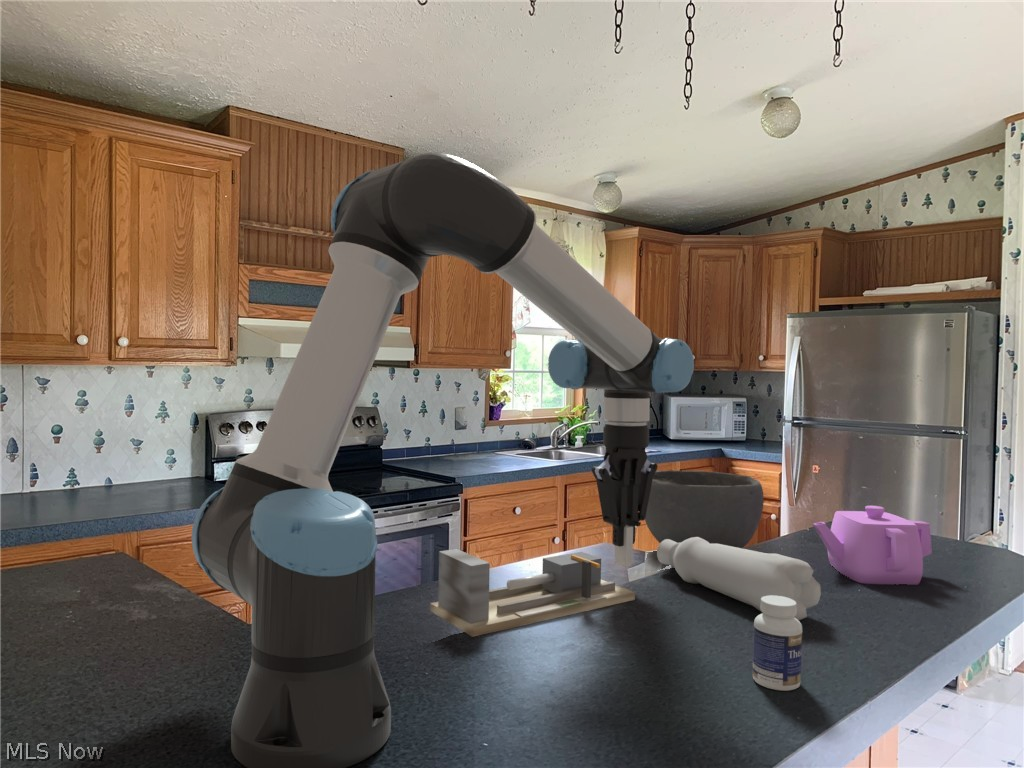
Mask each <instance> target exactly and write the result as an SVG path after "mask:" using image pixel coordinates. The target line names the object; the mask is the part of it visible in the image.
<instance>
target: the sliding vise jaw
mask: <svg viewBox="0 0 1024 768" xmlns="http://www.w3.org/2000/svg"><path fill="white" fill-rule="evenodd" d="M585 560H587V561H590V562H591V586H592V585H597V584H601V580H602V558H601V557H598V556H595V555H592V554H590V553H587V552H585V551H579V552H574V553H573V552H572V553H566V554H561V555H555V556H554V555H553V556H548V557H543V558H542V572H541V573H540V574H536V575H530V576H524V577H520V578H514V579H507V581H506V587H507V588H508V589H509V590H512V589H518V588H523V587H528V586H533V585H538V584H542V589H545V590H547V591H549V592H552V593H558V592H563V591H568V590H573V589H578V588H582V561H585Z"/></svg>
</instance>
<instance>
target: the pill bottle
mask: <svg viewBox="0 0 1024 768" xmlns="http://www.w3.org/2000/svg"><path fill="white" fill-rule="evenodd" d="M760 609H761V611H760V612H761V613H760V614H758V615H757V616H756V617H755V618H754V621H753V647H752V650H753V651H752V652H753V653H752V678H753V680H754V682H755V683H757V685H760V686H762V687H765V688H767V689H771V690H775V691H782V692H783V691H784V692H788V691H793V690H796V689H797V688H799V687H800V686H801V680H802V679H801V678H802V677H801V676H802V654H803V652H802V651H803V647H802V646H803V624H802V623H801V622H800V620H797V619H796V618H794V616H796V613H797V603H796V602H795V601H794V600H792V599H790V598H787V597H783V596H775V595H769V596H764V597H762V598H761V605H760Z"/></svg>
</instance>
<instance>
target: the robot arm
mask: <svg viewBox="0 0 1024 768" xmlns="http://www.w3.org/2000/svg"><path fill="white" fill-rule="evenodd" d="M330 215H331V216H330V227H331V229H332V231H333V238H332V239H331V243H330V245H329V247H328V250H327V251H328V254H329V257H330V259H331V261H332V263H333V265H334V267H333V271H332V273H331V276H330V278H329V281H328V283H327V285H326V287H325V288H324V292H323V294H322V296H321V299H320V301H319V303H318V305H317V307H316V310H315V312H314V315H313V317H312V319H311V322H310V324H309V327H308V329H307V331H306V334H305V335H304V338H303V340H302V343H301V345H300V347H299V349H298V352H297V354H296V355H295V356H296V357H295V359H294V361H293V362H292V363H293V364H292V365H291V368H290V370H289V373H288V375H287V378H286V380H285V381H284V384H283V387H282V389H281V392H280V393H279V396H278V398H277V401H276V403H275V405H274V408H273V410H272V412H271V415H270V416H269V419H268V422H267V424H266V426H265V429H264V430H263V433H262V436H261V438H260V439H259V442H258V444H257V447H256V449H255V450H254V451H253V452H251V453H249V454H247V455H244V456H241V457H240V458H237V459H236V460H235V461H234V464H233V467H232V469H231V471H230V473H229V476H228V477H227V479H226V482H225V484H224V486H223V487H221V488H219V489H218V490H216V491H214V492H213V493H212V494H210V496H207V498H206V499H205V500H204V502H203V503H202V504H201V506H200V507H199V509H198V511H197V513H196V516H195V518H194V520H193V524H192V528H191V546H192V551H193V555H194V557H195V559H196V562H197V563H198V565H199V566H200V567H201V569H202V570H203V571H204V573H205V575H206V576H207V577H208V578H209V579H210V580H211V582H213V583H214V584H216V585H217V586H218V587H220V588H221V589H223V590H225V591H227V592H231V593H232V594H233V595H235V596H236V597H238V598H239V599H241V600H242V601H244V602H246V603H247V604H249V605H250V606H251V659H250V661H251V662H250V667H249V669H248V672H247V675H246V677H245V681H244V684H243V686H242V690H241V692H240V695H239V699H238V702H237V705H236V707H235V710H234V714H233V716H232V721H231V727H230V733H231V734H230V736H231V737H230V748H231V749H230V750H231V753H232V755H233V757H234V758H235V759H236V761H238V763H240V764H242V766H244V767H246V768H348V767H351V766H354V765H356V764H359V763H361V762H363V761H364V760H366V759H368V758H370V757H371V756H373V755H374V754H375V753H377V752H378V751H379V750H380V749H381V748H382V747H384V745H385V744H386V743H387V741H388V739H389V738H390V735H391V730H392V729H391V728H392V727H391V725H392V722H391V721H392V707H391V703H390V699H389V695H388V693H387V689H386V687H385V684H384V680H383V678H382V675H381V674H382V673H381V671H380V668H379V665H378V662H377V658H376V656H375V617H376V616H375V614H376V613H375V612H376V611H375V606H376V605H375V603H376V556H377V552H378V551H377V550H378V538H377V531H376V530H377V529H376V519H375V514H374V512H373V510H372V508H371V507H370V506H369V504H368V503H366V502H365V501H364V500H363V499H362V498H359V497H358V496H355V495H353V494H350V493H347V492H343V491H338V490H336V491H334V490H333V488H332V486H331V484H330V481H329V473H330V472H331V468H332V467H333V464H334V461H335V458H336V456H337V454H338V451H339V449H340V446H341V444H342V441H343V439H344V436H345V434H346V432H347V429H348V427H349V424H350V422H351V419H352V416H353V415H354V412H355V409H356V407H357V404H358V401H359V399H360V398H361V397H360V396H361V395H362V392H363V390H364V388H365V384H366V383H367V379H368V378H369V374H370V373H371V370H372V367H373V364H374V362H375V360H376V358H377V354H378V352H379V350H380V348H381V345H382V342H383V340H384V337H385V335H386V333H387V330H388V327H389V325H390V323H391V320H392V318H393V315H394V313H395V311H396V308H397V306H398V303H399V300H400V298H401V297H402V295H404V294H408V293H410V292H412V291H415V290H416V289H417V288H418V286H419V283H420V281H421V279H422V276H423V274H424V272H425V271H424V270H425V268H426V266H427V263H428V261H429V259H430V258H432V257H437V256H442V255H443V256H451V257H455V258H457V259H460V260H464V261H465V262H467V263H469V264H470V265H472V267H474V268H475V269H476V270H478V271H479V272H481V273H482V274H487V275H489V274H491V275H492V274H497V276H499V277H500V278H501V279H502V280H504V281H505V282H506V283H507V284H509V285H510V286H511V287H512V288H513V289H515V290H516V291H517V292H519V294H520V295H522V296H523V297H524V298H525V299H527V300H528V301H529V302H530V303H532V304H533V305H534V306H535V307H537V308H538V309H539V310H540V311H542V312H543V313H544V314H546V316H548V317H549V318H551V319H552V321H554V322H555V323H556V324H558V325H559V327H561V328H563V329H564V330H565V331H566V332H567V333H569V334H570V335H571V336H572V337H573V338H572V339H564V340H562V341H559V342H557V343H556V344H555V345H554V346H553V347H552V349H551V351H550V352H549V355H548V360H547V361H548V363H547V365H548V367H547V370H548V374H549V376H550V379H551V380H552V381H553V383H554V384H555V385H556V386H558V387H560V388H563V389H571V390H581V389H591V390H592V389H593V390H603V420H604V421H605V422H607V423H605V424H604V425H603V429H602V430H603V435H602V436H603V437H602V438H603V439H602V443H603V446H604V447H605V453H604V455H603V462H601V464H599V466H595V465H594V466H592V469H591V473H592V475H593V476H594V478H595V480H596V485H597V491H598V497H599V503H600V510H601V517H602V520H603V522H604V523H607V524H609V525H612V543H613V545H614V564H616V565H618V566H619V565H620V566H621V567H625V568H628V567H633V562H634V560H633V559H634V558H633V557H634V555H633V553H634V551H633V550H634V545H635V542H636V527H640V526H641V524H642V523H641V521H644V520H645V517H646V512H647V506H648V501H649V496H650V491H651V485H652V480H653V476H654V474H655V472H656V471H658V468H659V467H658V466H659V465H658V464H657V462H656V463H655V462H651V461H650V460H649V459H648V454H647V452H646V451H647V450H646V448H648V447H649V445H650V426H649V425H647V423H648V422H650V421H651V420H650V419H651V418H650V414H651V413H650V410H651V409H650V408H651V405H650V404H651V403H650V402H651V400H650V399H651V398H650V396H651V394H650V393H655V394H656V393H657V394H662V393H677V392H681V391H683V390H684V389H685V388H686V387H687V386H688V385H689V384H690V382H691V379H692V375H693V374H694V369H695V360H694V355H693V352H692V350H691V348H690V346H689V344H688V343H686V342H685V341H683V340H681V339H677V338H672V337H665V338H661V337H659V336H658V335H657V334H656V333H655V332H653V331H652V330H651V329H650V328H649V327H648V326H647V325H645V324H644V322H642V321H641V320H640V319H639V318H638V317H637V316H636V315H635V314H634V313H633V312H631V310H629V309H628V308H627V307H626V306H625V305H624V304H623V303H622V302H621V301H620V300H619V299H618V298H616V296H614V295H613V294H612V293H611V292H610V291H609V290H608V289H606V288H605V286H603V285H602V284H601V282H600V281H598V280H597V279H596V278H595V277H594V276H593V275H592V274H591V273H590V272H588V271H587V270H586V269H585V268H584V267H583V266H582V265H581V264H580V263H579V262H578V261H577V260H576V259H574V258H573V257H572V256H571V255H570V254H569V253H568V252H567V251H566V250H565V249H564V248H562V247H561V245H560V244H558V243H557V242H556V241H555V240H554V239H553V238H552V237H551V235H550V236H549V235H548V234H547V233H546V231H545V230H544V229H542V228H541V227H540V226H539V225H538V224H537V216H536V212H535V210H534V209H533V208H532V207H531V206H530V205H529V204H528V202H526V201H525V200H524V199H523V198H522V197H521V196H519V195H518V194H517V193H516V192H515V191H514V190H513V189H511V188H510V187H509V186H507V185H506V184H505V183H504V182H502V181H501V180H499V179H498V178H497V177H495V176H494V175H492V174H490V173H489V172H487V171H486V170H484V169H482V168H481V167H479V166H477V165H476V164H474V163H471V162H469V161H468V160H466V159H463V158H462V157H461V158H460V157H459V156H455V155H451V154H449V153H448V154H447V153H440V152H426V153H420V154H417V155H414V156H411V157H408V158H407V159H405V160H402V161H399V162H395V163H392V164H389V165H387V166H384V167H381V168H376V169H375V168H374V169H372V170H369V171H366V172H364V173H362V174H361V175H359V176H357V177H355V179H354V180H352V181H350V182H349V183H348V184H346V185H345V186H344V187H343V189H342V190H341V191H339V194H337V197H336V198H335V200H334V202H333V206H332V210H331V214H330ZM574 338H575V339H574Z"/></svg>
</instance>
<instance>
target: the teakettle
mask: <svg viewBox="0 0 1024 768" xmlns="http://www.w3.org/2000/svg"><path fill="white" fill-rule="evenodd" d="M864 508H865V511H862V510H861V511H860V510H837V511H835V512H834V516H833V519H832V523H831V527H830V528H829V526H828V525H827V523H826V522H824V521H819V522H818V521H817V522H813V523H812V524H813V527H814V529H815V531H816V532H817V534H818V536H819V538H820V539H821V541H822V543H823V544H824V545H823V546H825V548H826V549H827V556H828V562H829V564H831V565H830V566H831V567H832V566H833V567H834V568H835V569H836V570H837V571H836V570H835V569H834V568H833V567H832V568H833V569H834V570H835V571H836V572H838V571H839V572H840V573H839V572H838V573H839V574H841V573H842V574H843V576H844V575H845V576H844V577H846V576H847V577H846V578H848V577H849V578H848V579H850V580H852V581H854V582H856V583H859V584H865V585H894V584H896V585H898V586H899V584H907V585H906V586H908V585H909V586H911V585H913V586H916V585H917V586H918V585H920V582H921V580H922V578H923V575H924V574H923V573H924V559H923V558H925V557H926V556H929V555H930V554H931V555H932V553H933V552H932V536H931V523H929V522H926V521H923V520H911V519H910V520H909V519H907V518H904V517H901V516H898V515H895V514H893V513H889V512H886V511H885V510H886V509H885V507H882V506H878V505H865V506H864ZM842 574H841V575H842ZM894 586H895V585H894Z"/></svg>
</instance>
